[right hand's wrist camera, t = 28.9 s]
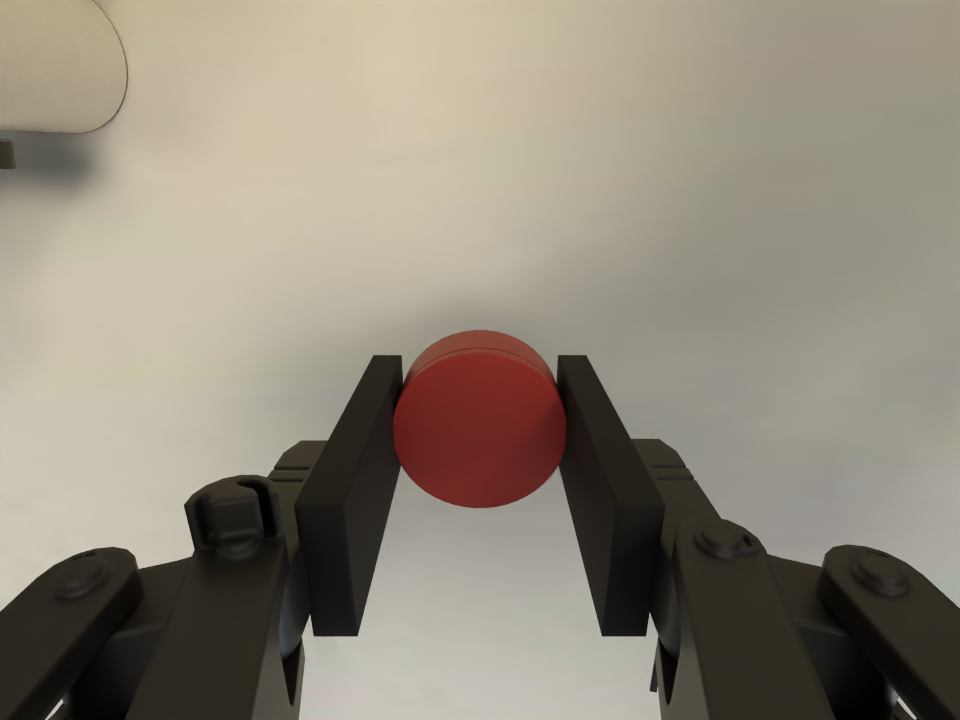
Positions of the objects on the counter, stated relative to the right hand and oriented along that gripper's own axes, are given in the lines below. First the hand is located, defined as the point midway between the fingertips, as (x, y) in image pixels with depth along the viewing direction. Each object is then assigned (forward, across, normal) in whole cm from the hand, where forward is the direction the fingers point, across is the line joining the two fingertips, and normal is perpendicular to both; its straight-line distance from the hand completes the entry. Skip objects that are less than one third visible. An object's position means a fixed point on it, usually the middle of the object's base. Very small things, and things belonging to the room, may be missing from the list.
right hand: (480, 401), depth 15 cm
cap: (-2, 0, 0) cm, 2 cm away
